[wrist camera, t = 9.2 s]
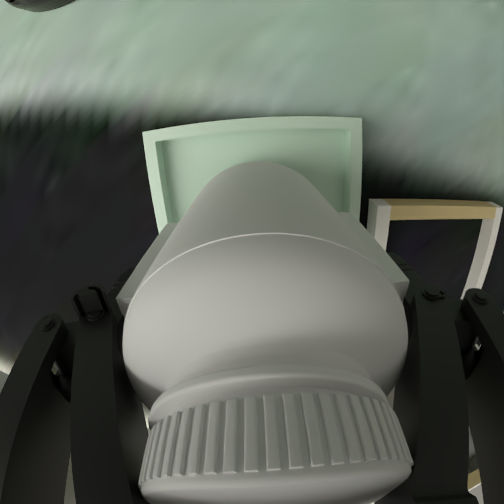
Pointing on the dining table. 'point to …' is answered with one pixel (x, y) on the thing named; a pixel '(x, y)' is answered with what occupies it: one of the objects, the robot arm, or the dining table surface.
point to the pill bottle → (267, 352)
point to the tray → (254, 157)
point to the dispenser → (491, 215)
